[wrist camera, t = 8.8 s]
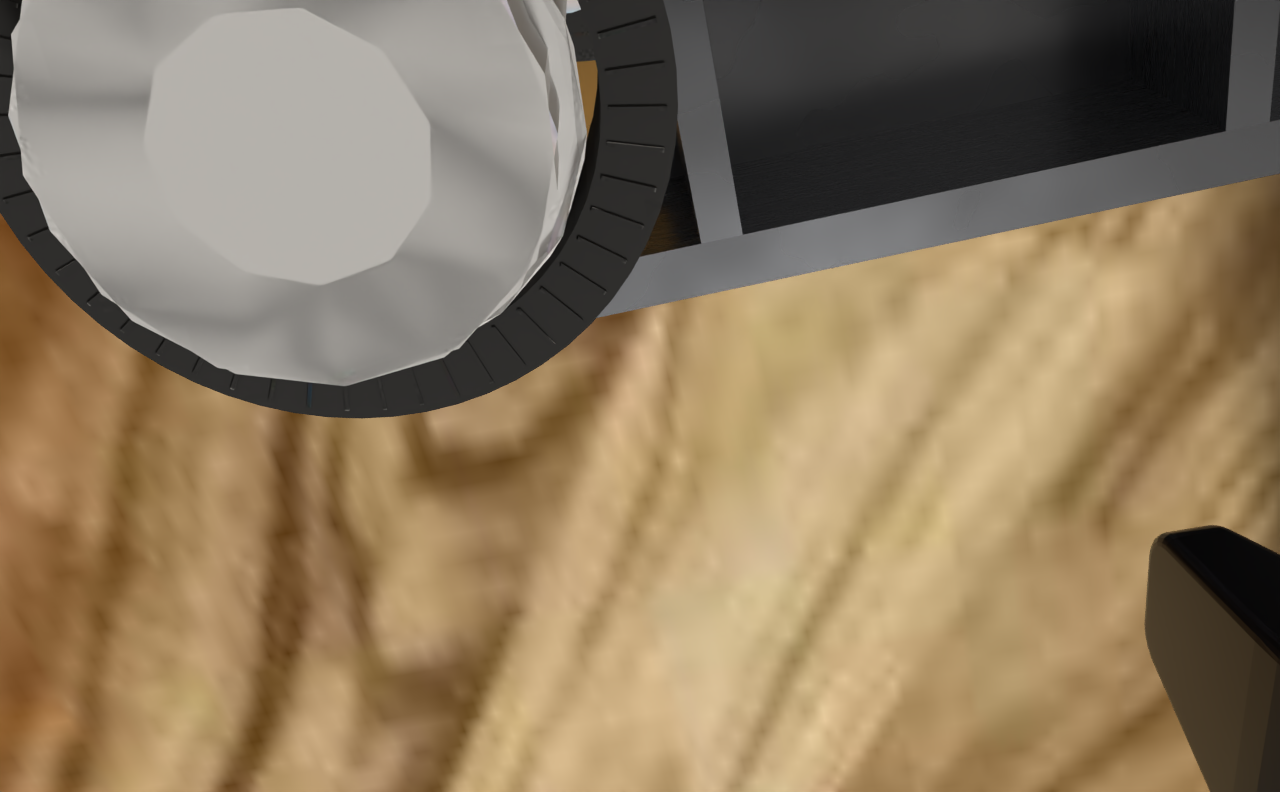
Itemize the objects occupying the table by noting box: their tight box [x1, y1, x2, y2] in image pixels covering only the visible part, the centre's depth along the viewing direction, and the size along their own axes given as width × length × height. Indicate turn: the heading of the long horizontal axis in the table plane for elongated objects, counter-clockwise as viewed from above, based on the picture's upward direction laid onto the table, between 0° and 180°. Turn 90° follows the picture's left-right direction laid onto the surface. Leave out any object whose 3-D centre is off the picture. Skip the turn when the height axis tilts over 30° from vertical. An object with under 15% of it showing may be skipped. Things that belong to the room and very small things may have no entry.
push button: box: [0, 0, 678, 418], centre depth 11 cm, size 7×5×10 cm
